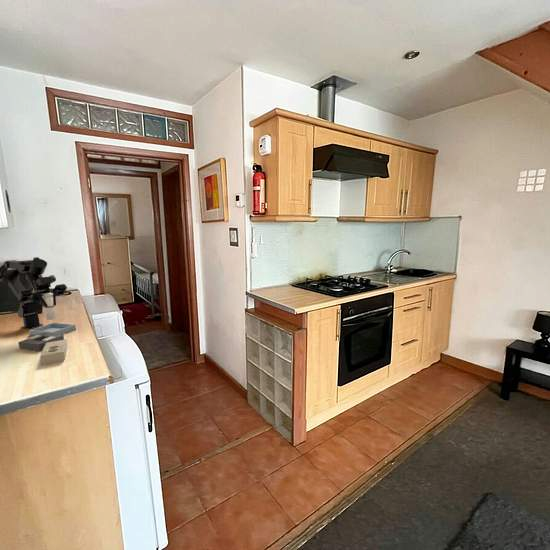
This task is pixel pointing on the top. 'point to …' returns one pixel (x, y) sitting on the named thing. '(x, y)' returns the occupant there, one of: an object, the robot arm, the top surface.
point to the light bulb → (49, 306)
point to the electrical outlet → (54, 352)
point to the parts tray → (53, 329)
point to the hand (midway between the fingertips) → (51, 306)
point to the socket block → (39, 341)
